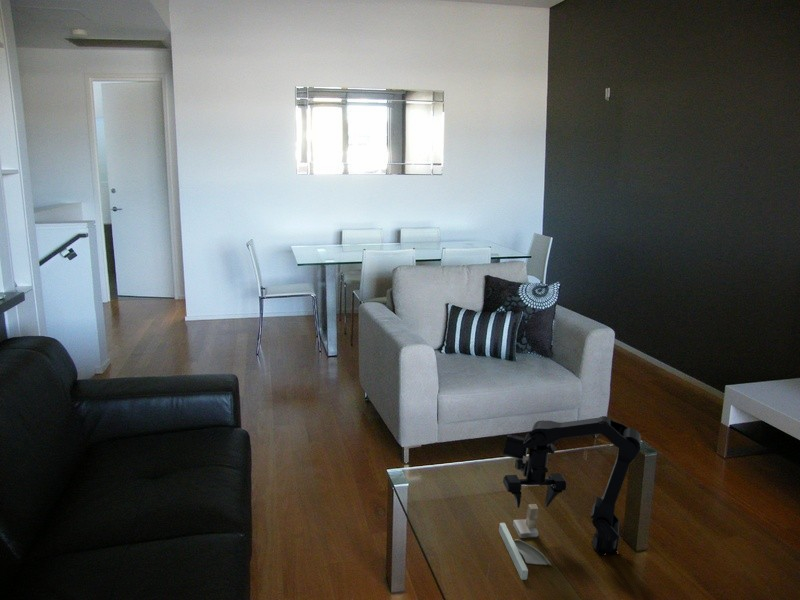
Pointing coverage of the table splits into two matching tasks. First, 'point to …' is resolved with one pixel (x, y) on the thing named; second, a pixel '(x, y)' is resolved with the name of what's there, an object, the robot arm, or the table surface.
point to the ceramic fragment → (531, 554)
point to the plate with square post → (528, 523)
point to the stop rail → (513, 551)
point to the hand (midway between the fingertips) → (532, 506)
